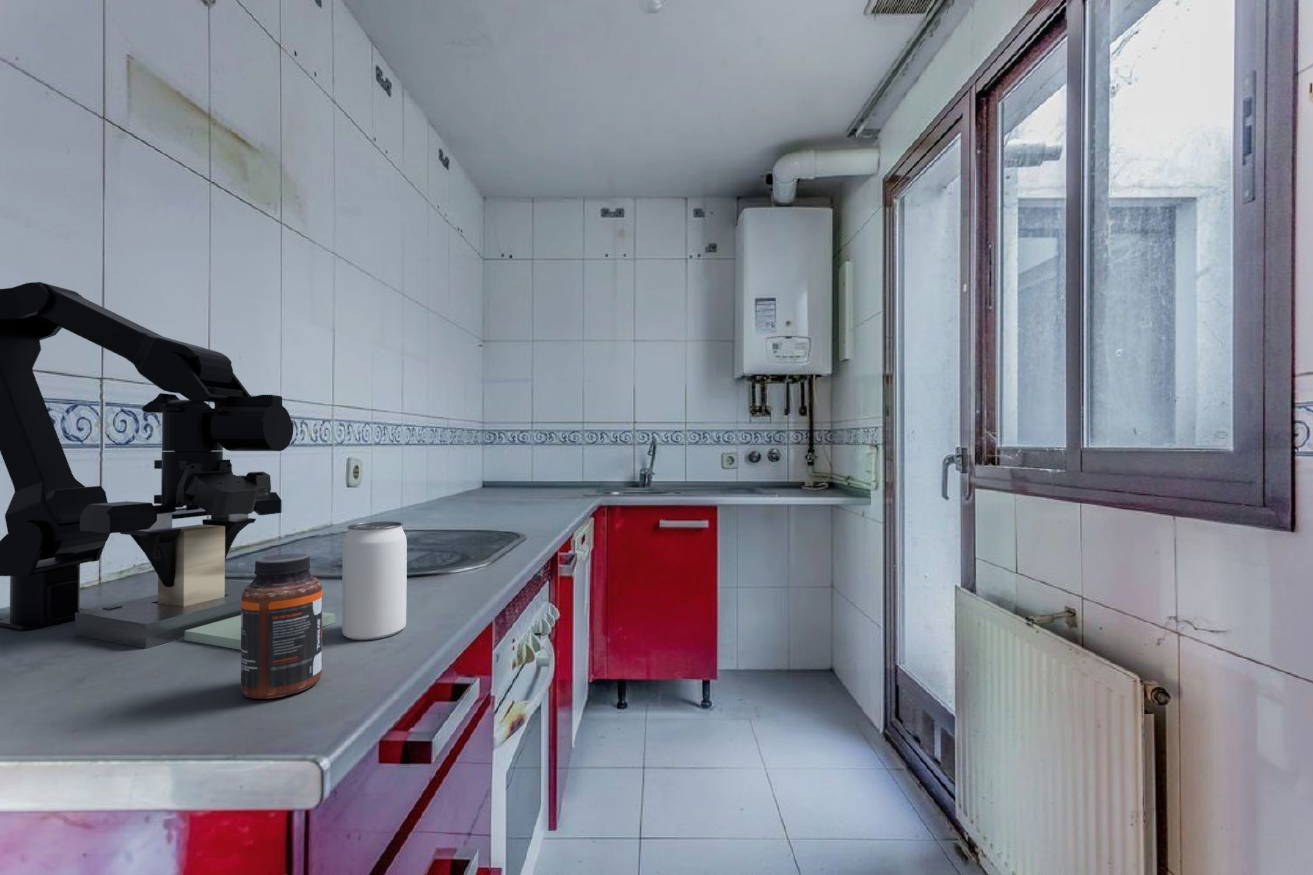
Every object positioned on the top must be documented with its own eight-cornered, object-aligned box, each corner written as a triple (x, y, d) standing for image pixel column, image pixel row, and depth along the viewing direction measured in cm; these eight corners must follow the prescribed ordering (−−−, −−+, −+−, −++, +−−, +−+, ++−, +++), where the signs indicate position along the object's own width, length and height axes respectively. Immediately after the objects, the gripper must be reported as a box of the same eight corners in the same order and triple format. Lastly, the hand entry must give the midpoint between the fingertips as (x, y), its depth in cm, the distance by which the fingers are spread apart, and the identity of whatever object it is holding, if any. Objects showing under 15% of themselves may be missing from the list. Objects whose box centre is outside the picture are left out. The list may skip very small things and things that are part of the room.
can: (380, 643, 61) (381, 529, 61) (328, 639, 62) (328, 528, 62) (418, 624, 67) (418, 521, 67) (369, 621, 68) (370, 520, 68)
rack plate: (75, 635, 63) (75, 611, 63) (226, 597, 78) (226, 578, 78) (145, 648, 59) (145, 623, 59) (290, 606, 74) (290, 586, 74)
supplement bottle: (338, 678, 52) (339, 552, 52) (274, 707, 46) (276, 566, 46) (289, 669, 54) (290, 548, 54) (223, 696, 48) (224, 560, 48)
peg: (157, 623, 67) (158, 529, 67) (199, 612, 71) (200, 524, 71) (183, 627, 66) (184, 531, 66) (224, 616, 70) (225, 526, 70)
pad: (184, 640, 61) (184, 630, 61) (274, 613, 71) (274, 605, 71) (250, 651, 58) (250, 641, 58) (335, 622, 68) (335, 613, 68)
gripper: (145, 453, 57) (143, 610, 57) (312, 450, 75) (312, 570, 75) (77, 452, 61) (75, 599, 61) (252, 450, 79) (251, 564, 78)
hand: (191, 581), depth 69 cm, fingers closed on peg, 4 cm apart
